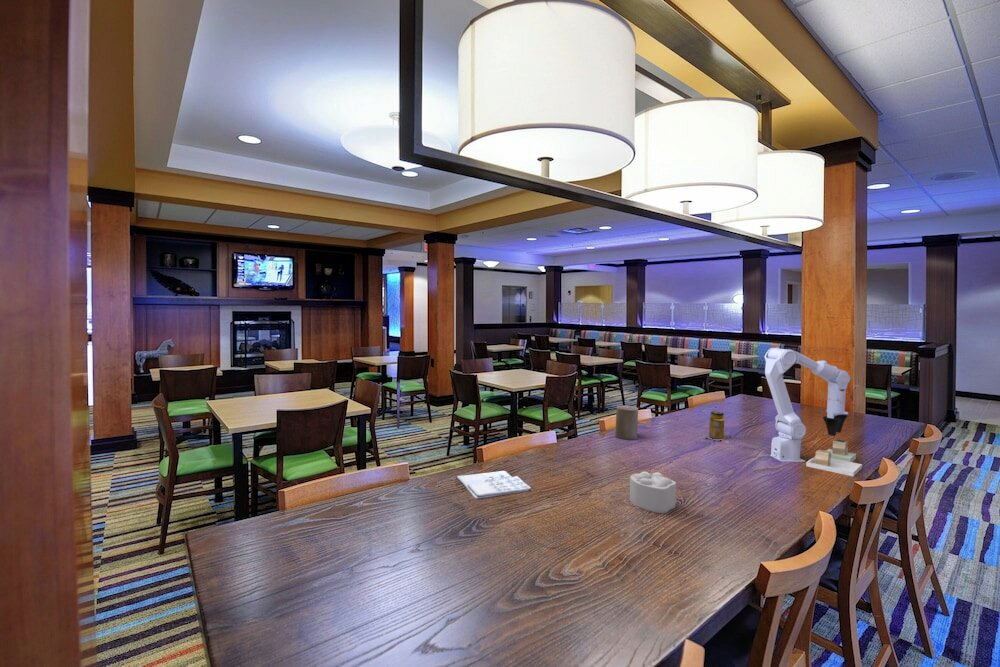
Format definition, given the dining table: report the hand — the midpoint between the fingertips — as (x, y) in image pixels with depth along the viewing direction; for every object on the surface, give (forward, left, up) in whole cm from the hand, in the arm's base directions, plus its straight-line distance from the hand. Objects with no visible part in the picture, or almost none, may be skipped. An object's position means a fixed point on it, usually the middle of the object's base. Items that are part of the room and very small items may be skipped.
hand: (834, 433), depth 188 cm
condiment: (-34, +29, -10) cm, 45 cm away
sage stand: (+1, -2, -10) cm, 10 cm away
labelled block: (+1, -2, -7) cm, 8 cm away
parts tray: (-9, -12, -10) cm, 18 cm away
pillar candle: (-74, +31, -10) cm, 80 cm away
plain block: (-11, -9, -9) cm, 17 cm away
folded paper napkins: (-135, -28, -11) cm, 138 cm away
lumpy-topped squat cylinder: (-88, -43, -10) cm, 98 cm away
